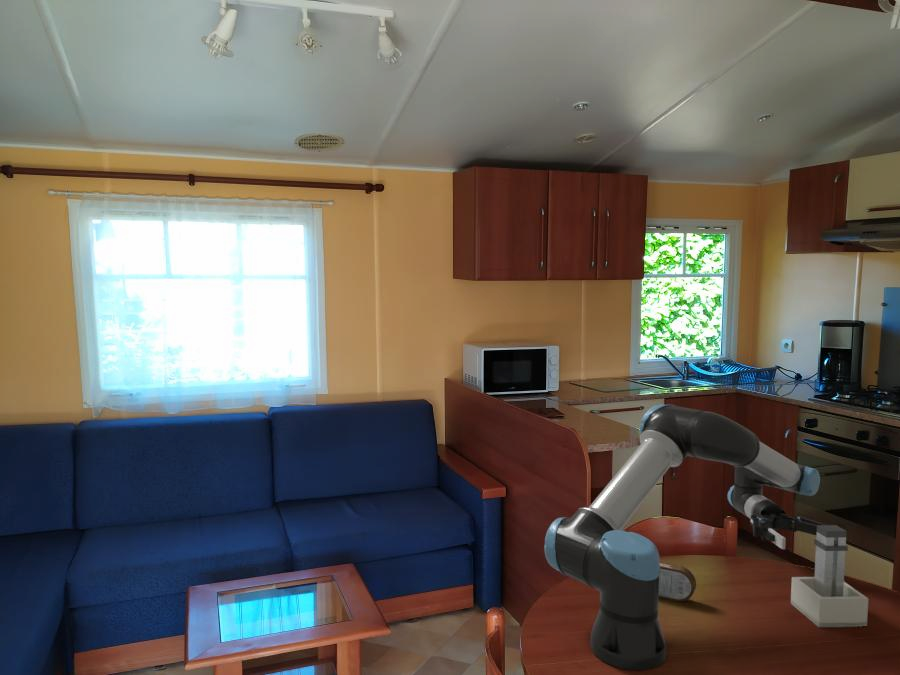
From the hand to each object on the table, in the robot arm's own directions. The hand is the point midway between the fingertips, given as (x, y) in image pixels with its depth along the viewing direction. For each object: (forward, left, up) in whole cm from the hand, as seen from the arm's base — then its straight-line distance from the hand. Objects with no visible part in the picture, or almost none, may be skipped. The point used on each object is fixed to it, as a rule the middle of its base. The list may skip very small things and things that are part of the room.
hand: (811, 543), depth 155 cm
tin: (-35, +2, -14) cm, 38 cm away
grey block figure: (0, -8, -13) cm, 15 cm away
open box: (0, -8, -14) cm, 16 cm away
